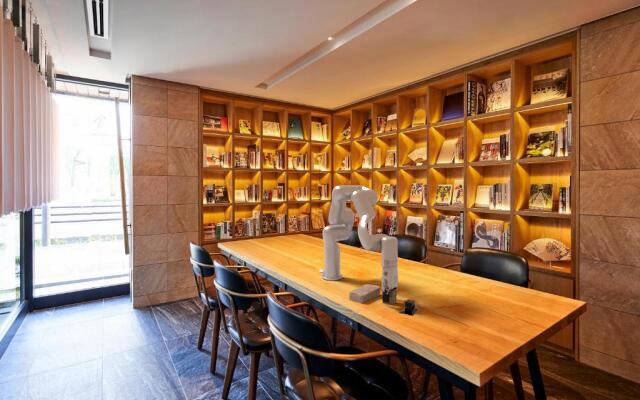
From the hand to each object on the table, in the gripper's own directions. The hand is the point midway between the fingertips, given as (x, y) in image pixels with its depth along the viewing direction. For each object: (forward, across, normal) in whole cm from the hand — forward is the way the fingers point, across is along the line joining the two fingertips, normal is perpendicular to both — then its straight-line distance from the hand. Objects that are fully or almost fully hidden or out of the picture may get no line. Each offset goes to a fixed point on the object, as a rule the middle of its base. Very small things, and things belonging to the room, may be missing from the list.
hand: (389, 298), depth 155 cm
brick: (+2, +1, +13) cm, 13 cm away
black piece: (+2, -5, -11) cm, 12 cm away
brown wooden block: (+2, 0, 0) cm, 2 cm away
